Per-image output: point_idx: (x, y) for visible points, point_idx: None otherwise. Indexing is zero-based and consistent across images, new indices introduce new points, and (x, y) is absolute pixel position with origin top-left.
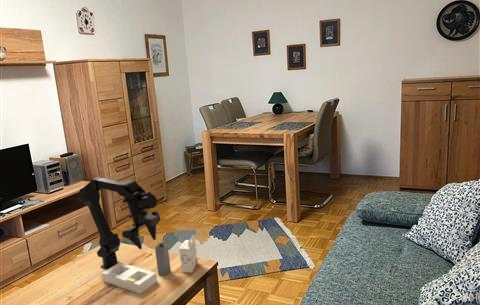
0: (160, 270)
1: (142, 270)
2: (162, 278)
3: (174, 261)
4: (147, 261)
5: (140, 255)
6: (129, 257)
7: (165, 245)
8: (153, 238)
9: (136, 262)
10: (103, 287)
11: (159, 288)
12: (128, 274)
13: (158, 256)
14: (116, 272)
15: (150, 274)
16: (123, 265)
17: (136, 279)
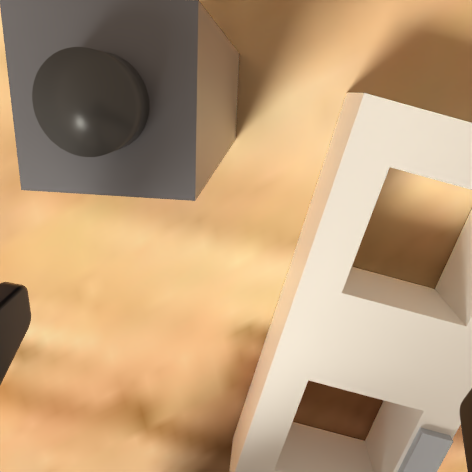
0: (234, 112)
1: (330, 256)
2: (294, 65)
3: (4, 91)
4: (75, 319)
5: (15, 404)
6: (64, 459)
7: (70, 9)
8: (14, 336)
9: (111, 387)
10: (455, 444)
11: (458, 9)
12: (410, 345)
13: (218, 128)
14: (315, 450)
15: (399, 139)
16: (270, 447)
17: (359, 273)
